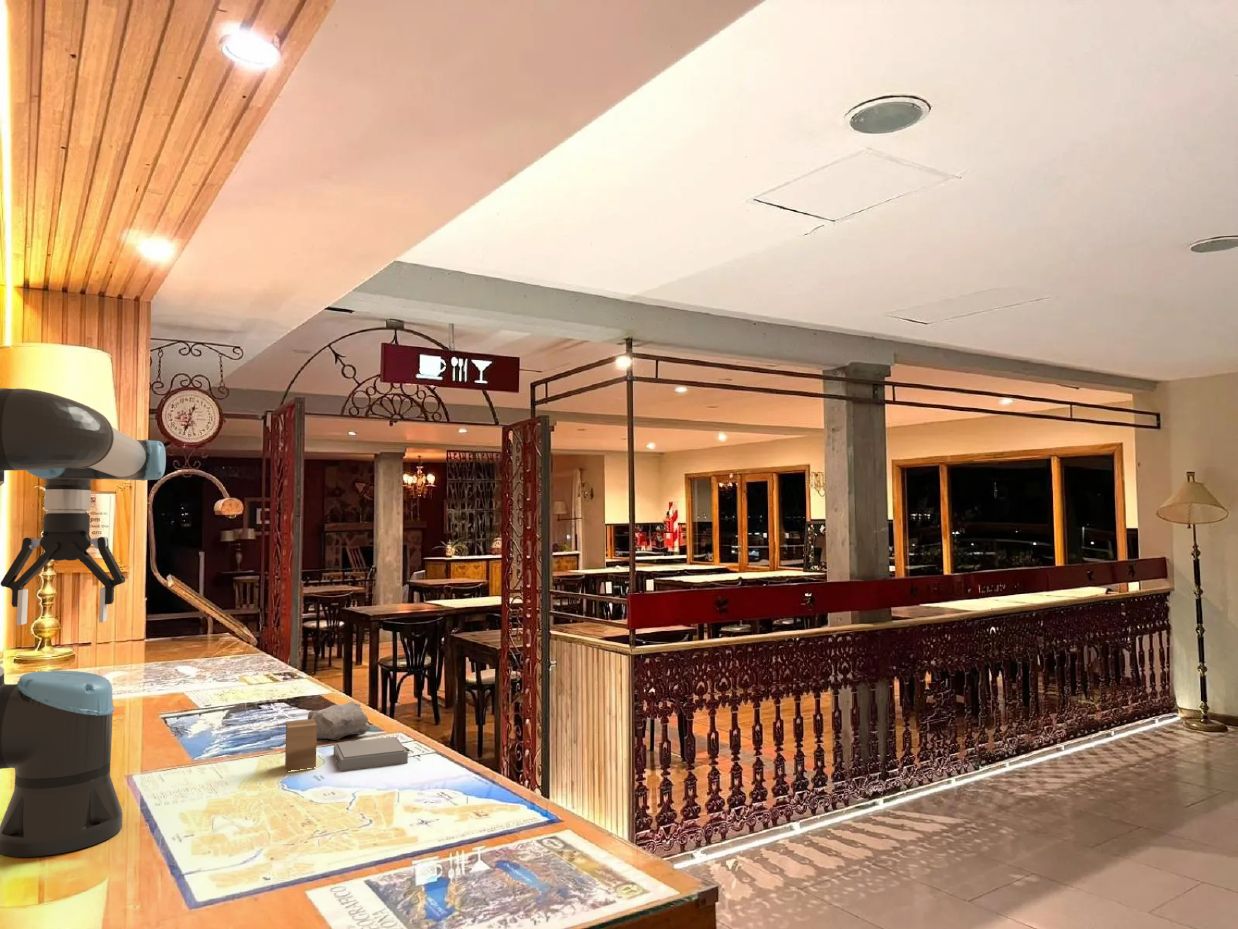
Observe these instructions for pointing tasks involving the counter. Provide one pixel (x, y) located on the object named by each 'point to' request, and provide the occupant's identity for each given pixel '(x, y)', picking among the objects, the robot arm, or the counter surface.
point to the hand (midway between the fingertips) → (62, 623)
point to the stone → (340, 721)
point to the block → (300, 744)
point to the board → (370, 753)
